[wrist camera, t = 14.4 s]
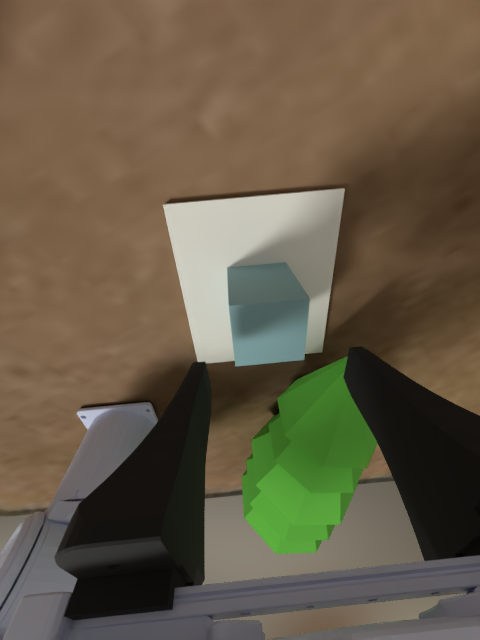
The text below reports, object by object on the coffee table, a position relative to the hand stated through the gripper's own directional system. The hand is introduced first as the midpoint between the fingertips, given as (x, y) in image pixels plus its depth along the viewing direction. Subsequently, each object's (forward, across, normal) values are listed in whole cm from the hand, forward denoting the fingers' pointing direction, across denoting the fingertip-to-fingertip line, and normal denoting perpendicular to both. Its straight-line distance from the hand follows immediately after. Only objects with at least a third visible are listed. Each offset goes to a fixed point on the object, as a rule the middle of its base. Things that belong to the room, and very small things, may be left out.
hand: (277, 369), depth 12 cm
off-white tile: (+9, 0, 0) cm, 9 cm away
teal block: (+9, 0, 0) cm, 9 cm away
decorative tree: (+10, -4, +17) cm, 20 cm away
